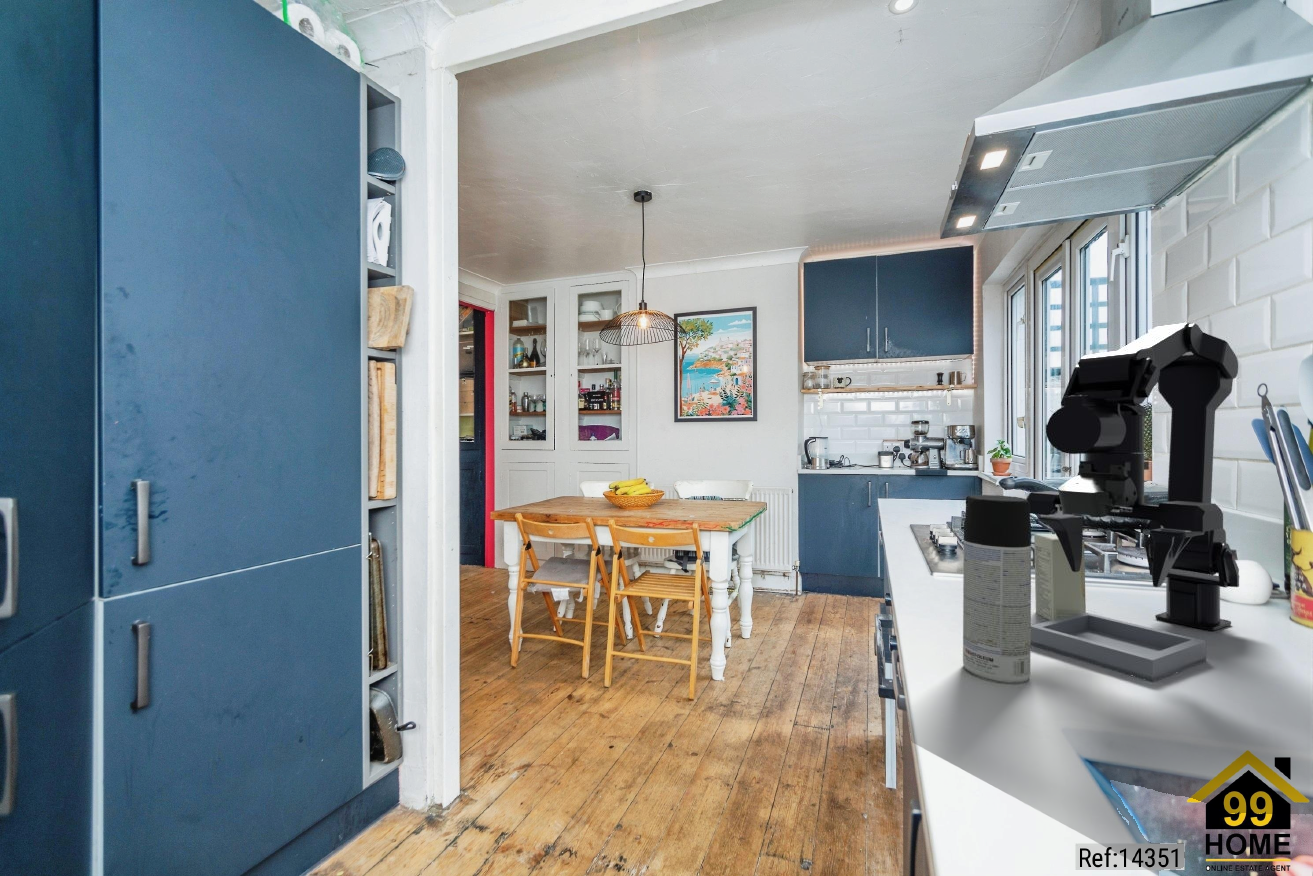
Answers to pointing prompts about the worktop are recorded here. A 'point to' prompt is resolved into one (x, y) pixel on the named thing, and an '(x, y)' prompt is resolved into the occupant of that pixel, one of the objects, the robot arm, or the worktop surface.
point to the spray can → (997, 588)
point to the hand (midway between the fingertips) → (1114, 578)
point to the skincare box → (1057, 580)
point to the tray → (1119, 645)
